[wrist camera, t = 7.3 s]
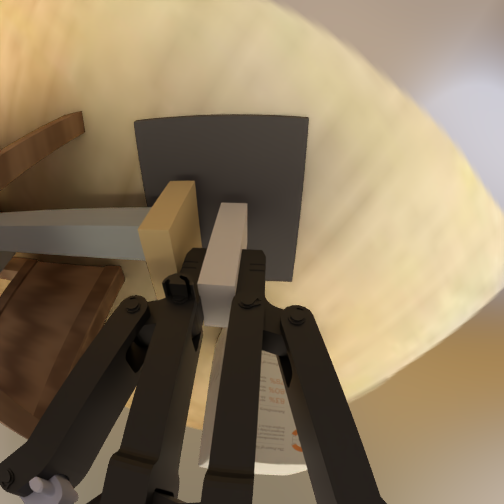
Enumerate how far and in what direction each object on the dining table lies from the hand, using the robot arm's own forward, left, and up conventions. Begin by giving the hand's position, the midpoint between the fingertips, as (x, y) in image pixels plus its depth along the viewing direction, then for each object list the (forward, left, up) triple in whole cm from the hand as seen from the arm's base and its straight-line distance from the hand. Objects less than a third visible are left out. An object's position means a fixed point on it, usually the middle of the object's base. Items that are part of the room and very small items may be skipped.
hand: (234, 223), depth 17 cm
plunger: (-13, 0, -2) cm, 13 cm away
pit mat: (-1, 0, -2) cm, 2 cm away
